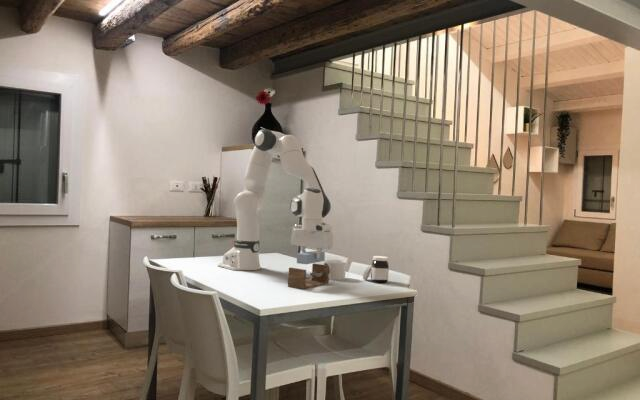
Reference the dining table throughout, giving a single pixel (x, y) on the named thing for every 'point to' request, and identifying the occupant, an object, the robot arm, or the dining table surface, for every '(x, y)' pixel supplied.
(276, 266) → the dining table surface
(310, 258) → the blue-grey block
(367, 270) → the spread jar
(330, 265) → the mug
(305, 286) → the wooden u-shaped block
